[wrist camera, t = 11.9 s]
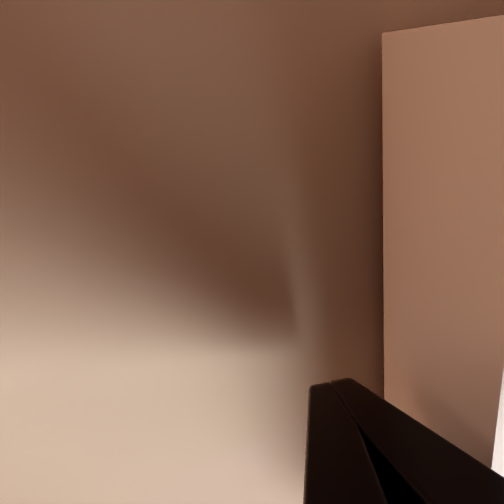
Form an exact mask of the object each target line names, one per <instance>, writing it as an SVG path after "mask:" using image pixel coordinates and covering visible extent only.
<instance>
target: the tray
mask: <svg viewBox="0 0 504 504" xmlns="http://www.w3.org/2000/svg"><path fill="white" fill-rule="evenodd" d="M382 117H383V278H384V400H386V401H388V402H389V403H391V404H392V405H394V406H395V407H397V408H398V409H400V410H401V411H403V412H404V413H406V414H408V415H409V416H411V417H412V418H414V419H415V420H417V421H418V422H420V423H421V424H423V425H424V426H426V427H428V428H429V429H431V430H432V431H434V432H435V433H437V434H438V435H440V436H441V437H443V438H444V439H446V440H447V441H449V442H451V443H452V444H454V445H455V446H457V447H458V448H460V449H461V450H463V451H464V452H466V453H467V454H469V455H471V456H472V457H474V458H475V459H477V460H478V461H480V462H481V463H483V464H484V465H486V466H487V467H489V468H491V469H492V470H494V471H495V472H497V473H498V474H500V475H501V476H503V477H504V15H499V16H492V17H485V18H478V19H472V20H465V21H458V22H452V23H445V24H438V25H431V26H425V27H418V28H411V29H404V30H398V31H391V32H384V33H382Z"/></svg>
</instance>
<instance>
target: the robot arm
mask: <svg viewBox="0 0 504 504" xmlns="http://www.w3.org/2000/svg"><path fill="white" fill-rule="evenodd" d="M303 504H504V477H503V476H501V475H500V474H498V473H497V472H495V471H494V470H492V469H491V468H489V467H487V466H486V465H484V464H483V463H481V462H480V461H478V460H477V459H475V458H474V457H472V456H471V455H469V454H467V453H466V452H464V451H463V450H461V449H460V448H458V447H457V446H455V445H454V444H452V443H451V442H449V441H447V440H446V439H444V438H443V437H441V436H440V435H438V434H437V433H435V432H434V431H432V430H431V429H429V428H428V427H426V426H424V425H423V424H421V423H420V422H418V421H417V420H415V419H414V418H412V417H411V416H409V415H408V414H406V413H404V412H403V411H401V410H400V409H398V408H397V407H395V406H394V405H392V404H391V403H389V402H388V401H386V400H384V399H383V398H381V397H380V396H378V395H377V394H375V393H374V392H372V391H371V390H369V389H368V388H366V387H364V386H363V385H361V384H360V383H358V382H357V381H355V380H354V379H352V378H344V379H339V380H334V381H331V382H330V383H329V382H325V383H320V384H315V385H311V386H310V388H309V398H308V418H307V438H306V458H305V477H304V497H303Z"/></svg>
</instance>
